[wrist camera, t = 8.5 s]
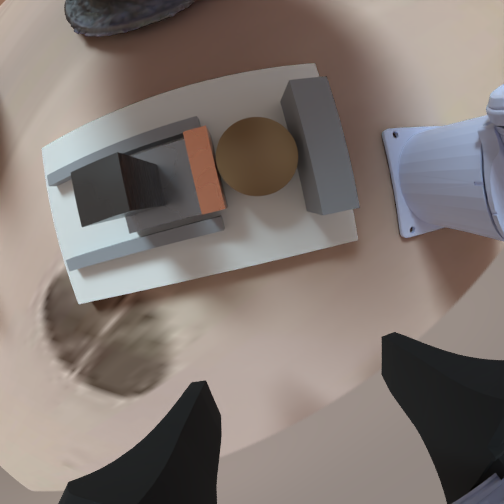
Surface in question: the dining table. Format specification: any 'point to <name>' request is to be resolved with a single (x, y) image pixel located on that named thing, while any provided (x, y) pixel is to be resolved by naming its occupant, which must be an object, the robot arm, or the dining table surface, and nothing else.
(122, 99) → the dining table surface
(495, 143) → the robot arm
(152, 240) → the board
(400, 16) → the dining table surface
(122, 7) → the decorative urn
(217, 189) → the carriage
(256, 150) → the nut
